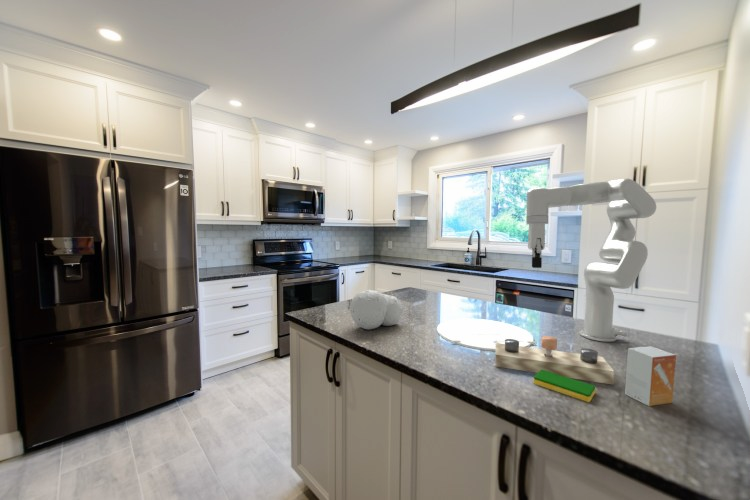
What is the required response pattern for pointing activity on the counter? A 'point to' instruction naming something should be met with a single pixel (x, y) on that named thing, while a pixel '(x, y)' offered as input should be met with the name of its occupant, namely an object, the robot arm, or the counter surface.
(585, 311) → the robot arm
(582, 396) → the dish sponge
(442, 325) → the lazy susan
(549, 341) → the middle knob
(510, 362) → the knob mount
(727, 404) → the counter surface
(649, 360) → the small box
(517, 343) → the far knob
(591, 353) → the near knob
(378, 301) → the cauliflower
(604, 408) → the counter surface
